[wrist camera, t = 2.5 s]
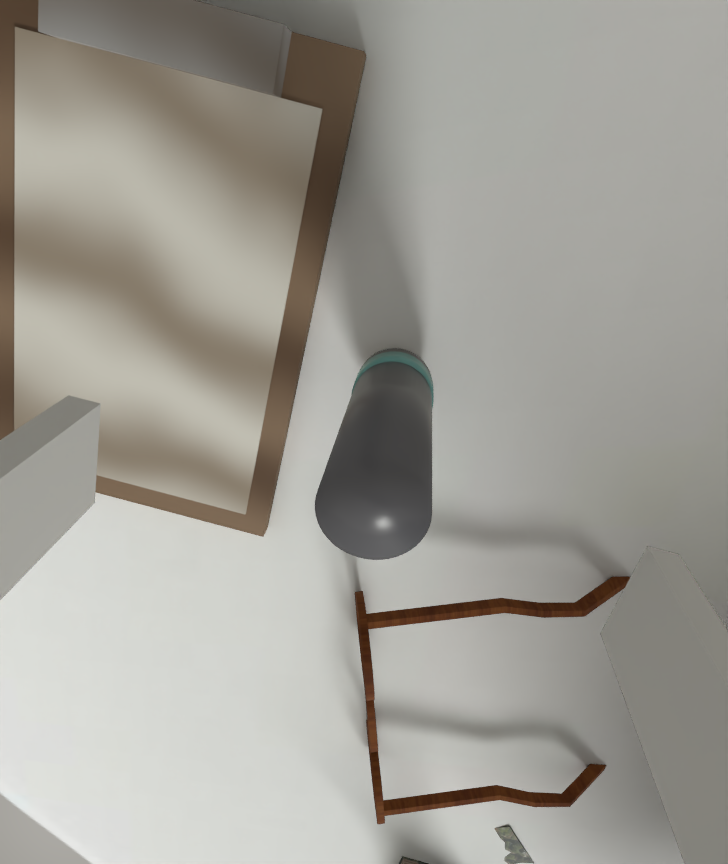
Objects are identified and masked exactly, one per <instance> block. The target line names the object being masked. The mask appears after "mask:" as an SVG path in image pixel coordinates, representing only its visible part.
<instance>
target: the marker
mask: <svg viewBox="0 0 728 864" xmlns="http://www.w3.org/2000/svg"><path fill="white" fill-rule="evenodd" d="M432 407H433V382H432V378H431V374H430V371H429V369H428V367H427V366H426V364H425V363H424V362H423V360H422V359H421V358H419V357H418V356H417V355H415V354H414V353H412V352H410V351H407V350H404V349H397V348H392V349H385V350H382V351H379V352H377V353H375V354H374V355H372V356H371V357H370V358H369V359H368V360H367V361H366V362H365V363H364V365H363V366H362V368H361V369H360V371H359V373H358V375H357V378H356V381H355V383H354V386H353V390H352V396H351V399H350V401H349V404H348V407H347V410H346V413H345V415H344V418H343V421H342V424H341V427H340V430H339V432H338V435H337V438H336V441H335V444H334V446H333V449H332V452H331V455H330V458H329V460H328V463H327V466H326V469H325V472H324V474H323V477H322V480H321V483H320V486H319V488H318V491H317V495H316V500H315V512H316V517H317V521H318V523H319V526H320V528H321V529H322V531H323V533H324V534H325V535H326V537H327V538H328V539H329V540H330V541H331V542H332V543H333V544H334V545H335V546H337V547H338V548H339V549H341V550H343V551H344V552H346V553H348V554H351V555H353V556H356V557H359V558H364V559H372V560H382V559H389V558H393V557H397V556H399V555H402V554H404V553H406V552H408V551H409V550H411V549H412V548H414V547H415V546H416V545H417V544H418V543H419V542H420V541H421V540H422V539H423V537H424V536H425V534H426V533H427V531H428V528H429V526H430V522H431V517H432Z"/></svg>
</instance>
